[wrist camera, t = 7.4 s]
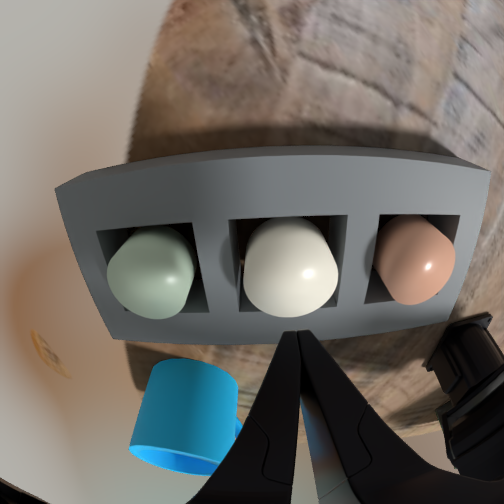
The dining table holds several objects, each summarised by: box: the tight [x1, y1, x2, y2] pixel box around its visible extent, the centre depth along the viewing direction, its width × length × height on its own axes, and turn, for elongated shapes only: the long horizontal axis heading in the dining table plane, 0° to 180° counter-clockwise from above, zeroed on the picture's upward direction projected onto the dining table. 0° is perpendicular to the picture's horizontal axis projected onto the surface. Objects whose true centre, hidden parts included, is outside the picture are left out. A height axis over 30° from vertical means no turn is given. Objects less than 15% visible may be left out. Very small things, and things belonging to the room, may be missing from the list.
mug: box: [129, 359, 243, 476], centre depth 19 cm, size 12×8×8 cm
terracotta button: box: [372, 214, 455, 305], centre depth 12 cm, size 4×4×2 cm
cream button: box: [243, 216, 338, 317], centre depth 12 cm, size 4×4×2 cm
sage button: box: [107, 225, 197, 319], centre depth 13 cm, size 4×4×2 cm
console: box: [55, 145, 491, 345], centre depth 13 cm, size 22×10×3 cm, turn 94°
